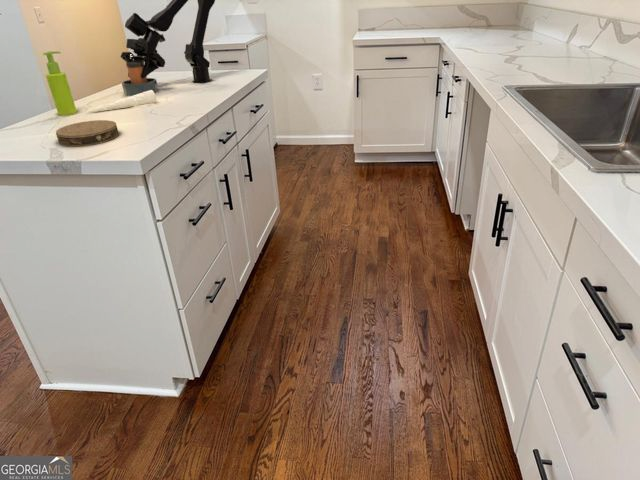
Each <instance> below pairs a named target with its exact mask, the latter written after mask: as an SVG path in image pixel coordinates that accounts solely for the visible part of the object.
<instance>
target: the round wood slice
mask: <svg viewBox="0 0 640 480" xmlns="http://www.w3.org/2000/svg"><path fill="white" fill-rule="evenodd" d="M55 135H56V138H57V141H58V144H59V145H61V146H64V147H74V148H75V147H76V148H77V147H87V146H94V145H99V144H103V143H106V142H110V141H112V140H114V139H116V138H117V137H119V135H120V133H119V129H118V125H117V122H115V121H113V120H107V119H106V120H104V119H99V120H98V119H97V120H88V121H87V120H86V121H80V122H75V123H71V124H67V125H65V126H62V127H59V128H58V129H56V131H55Z"/></svg>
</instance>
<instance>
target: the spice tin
mask: <svg viewBox="0 0 640 480" xmlns="http://www.w3.org/2000/svg"><path fill="white" fill-rule="evenodd" d="M125 65H126V68H127V71H128V72H129V76H130V77H129V80H130V81H131V84H140V83H147V82H148V80H147V78H148V77H147V76H148V75H147V76H146V77H145V78H143V79H142V78H141V74H142V71H143V68H144V65H145V62H144V61H133V62H126V63H125ZM128 72H127V73H128Z"/></svg>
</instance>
